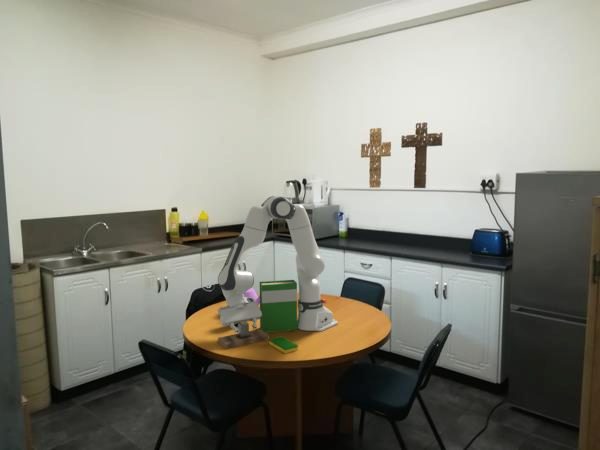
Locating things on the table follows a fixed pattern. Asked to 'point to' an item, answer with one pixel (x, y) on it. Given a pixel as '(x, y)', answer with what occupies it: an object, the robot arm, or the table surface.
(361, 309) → the table surface
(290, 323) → the hardback book
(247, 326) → the lever cap
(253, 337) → the brown flat board
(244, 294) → the teapot
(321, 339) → the table surface
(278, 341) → the dish sponge
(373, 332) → the table surface
